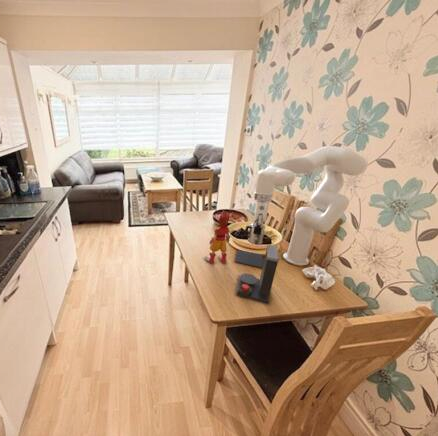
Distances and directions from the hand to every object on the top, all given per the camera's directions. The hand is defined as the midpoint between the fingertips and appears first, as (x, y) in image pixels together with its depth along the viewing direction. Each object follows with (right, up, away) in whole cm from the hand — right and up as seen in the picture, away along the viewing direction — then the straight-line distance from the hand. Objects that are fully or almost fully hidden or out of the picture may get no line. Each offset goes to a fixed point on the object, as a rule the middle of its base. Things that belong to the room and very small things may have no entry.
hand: (256, 230), depth 118 cm
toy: (-15, -18, +18) cm, 29 cm away
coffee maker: (-4, -28, -5) cm, 28 cm away
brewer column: (-4, -25, -6) cm, 26 cm away
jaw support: (+29, -26, -2) cm, 39 cm away
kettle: (-1, -6, +2) cm, 6 cm away
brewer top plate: (+4, -17, +18) cm, 26 cm away
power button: (-10, -26, -9) cm, 30 cm away
